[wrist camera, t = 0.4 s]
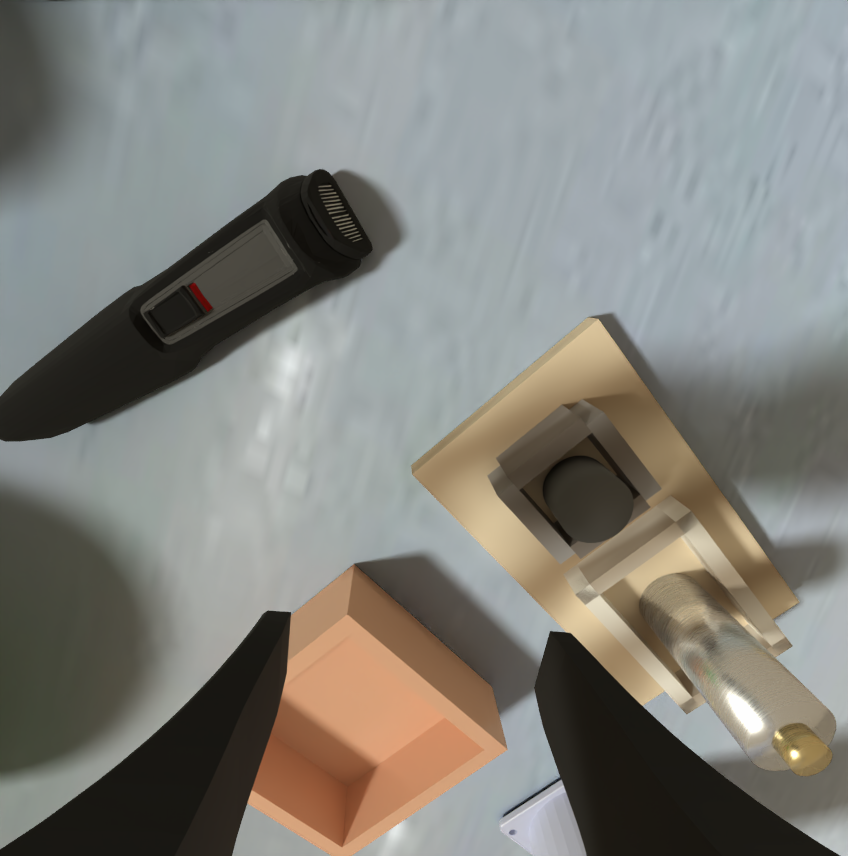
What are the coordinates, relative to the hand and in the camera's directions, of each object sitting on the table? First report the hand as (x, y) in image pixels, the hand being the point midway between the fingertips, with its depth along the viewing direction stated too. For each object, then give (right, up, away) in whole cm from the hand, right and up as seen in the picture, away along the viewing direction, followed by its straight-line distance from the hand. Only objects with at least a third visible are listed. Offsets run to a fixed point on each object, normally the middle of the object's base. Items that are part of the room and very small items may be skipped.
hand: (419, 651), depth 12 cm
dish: (-4, -8, +12) cm, 15 cm away
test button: (+6, +4, +6) cm, 10 cm away
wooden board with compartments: (+10, +1, +10) cm, 14 cm away
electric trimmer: (-9, +11, +6) cm, 15 cm away
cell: (+13, -3, +10) cm, 16 cm away
